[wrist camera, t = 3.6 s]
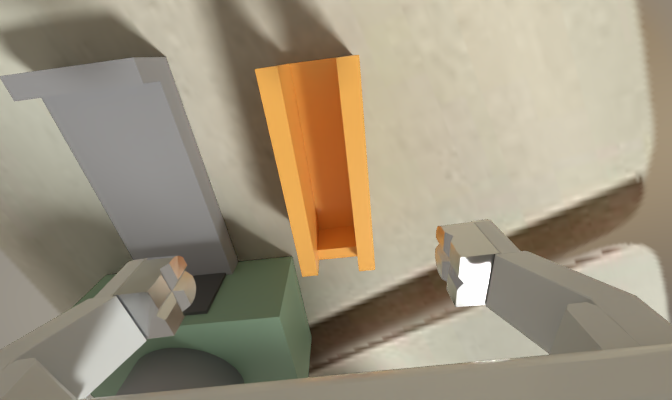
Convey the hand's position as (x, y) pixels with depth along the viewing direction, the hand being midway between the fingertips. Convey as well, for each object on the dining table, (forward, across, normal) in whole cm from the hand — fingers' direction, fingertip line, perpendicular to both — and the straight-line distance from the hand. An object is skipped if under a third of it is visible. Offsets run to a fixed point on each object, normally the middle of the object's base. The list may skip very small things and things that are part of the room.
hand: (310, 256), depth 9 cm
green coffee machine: (+11, -12, -6) cm, 17 cm away
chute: (+11, 0, -1) cm, 11 cm away
